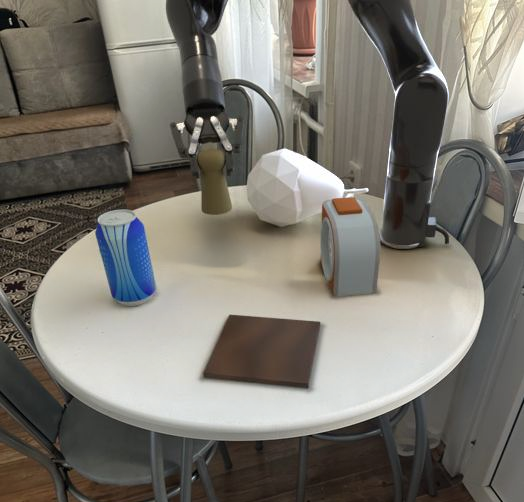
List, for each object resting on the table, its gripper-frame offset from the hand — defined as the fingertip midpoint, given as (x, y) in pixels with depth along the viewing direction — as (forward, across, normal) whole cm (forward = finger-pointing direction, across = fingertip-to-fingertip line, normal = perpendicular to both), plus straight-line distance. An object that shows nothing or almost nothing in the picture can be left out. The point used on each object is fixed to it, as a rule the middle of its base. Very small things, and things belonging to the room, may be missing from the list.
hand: (213, 174), depth 92 cm
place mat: (+34, +5, -7) cm, 35 cm away
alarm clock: (+20, +24, +8) cm, 32 cm away
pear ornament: (0, +21, +27) cm, 34 cm away
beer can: (+19, -18, +8) cm, 27 cm away
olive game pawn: (+4, 0, +6) cm, 8 cm away
